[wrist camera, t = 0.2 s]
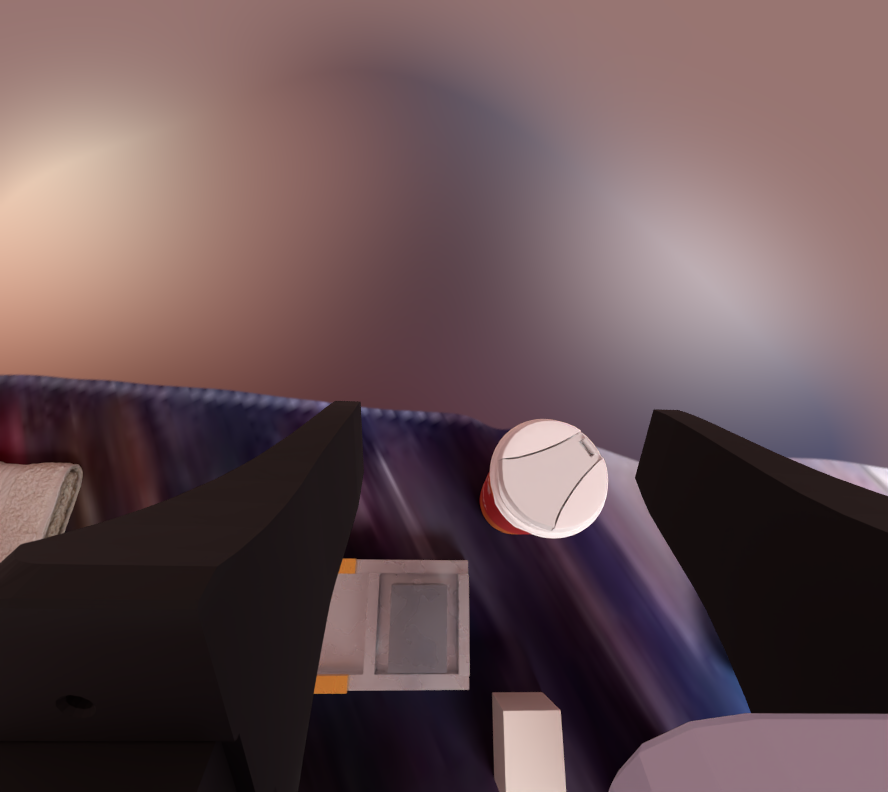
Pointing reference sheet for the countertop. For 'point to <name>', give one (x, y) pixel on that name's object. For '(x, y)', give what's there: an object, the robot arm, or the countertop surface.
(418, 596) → the rack
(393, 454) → the countertop surface
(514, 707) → the white rectangular carton
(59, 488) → the washcloth
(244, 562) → the robot arm
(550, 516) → the paper cup
